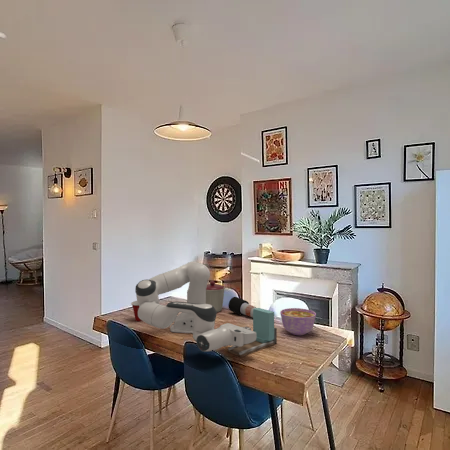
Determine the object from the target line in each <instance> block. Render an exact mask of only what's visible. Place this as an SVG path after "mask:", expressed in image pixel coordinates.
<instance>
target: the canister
mask: <svg viewBox="0 0 450 450" xmlns="http://www.w3.org/2000/svg"><path fill="white" fill-rule="evenodd" d="M225 289H226V286H224V285H222V284H217V283H216V282H215V281H214V280H211V281H210V282H209V283H207V287H206V304H210V305H212V306H213V307H214V308H215V309H216V311H217V313H219V312H221V311H222V309H223V303H224V295H225Z"/></svg>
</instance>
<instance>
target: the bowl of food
mask: <svg viewBox="0 0 450 450" xmlns="http://www.w3.org/2000/svg"><path fill="white" fill-rule="evenodd" d="M279 314H280V319H281V322H282V325H283V327H284V329H285V330H286V331H287V332H288V333H290V334H291V335H293V336H304V335H306V334H308V333H310V332H311V331H312V330H313V328H314V324H315V320H316V317H317V313H316V312H315V311H314V310H312V309H307V308H299V307H292V308H291V307H290V308H284V309H281V310H280V312H279Z"/></svg>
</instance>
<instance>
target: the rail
mask: <svg viewBox="0 0 450 450" xmlns="http://www.w3.org/2000/svg"><path fill="white" fill-rule="evenodd" d="M277 329H278V328H277V327H274V340H271V341H269V342H266V343H261V342H258V341H256V340H255V341H253V342H251V343H248V344H243V346H241V347H239V346H228V347H227V348H228V349H227V352H228V353H229V354H230V353H231V354H233V355H235V356H237V357H239V358H243V357H245V356H247V355H250V354H253V353H256V352H258V351H261V350H264V349H266V348H269V347H272V346H274V345H277V344H278V342H277V341H278V340H277V339H278V338H277V337H278V335H277V334H278V333H277V332H278V331H277Z"/></svg>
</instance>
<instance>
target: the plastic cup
mask: <svg viewBox="0 0 450 450" xmlns="http://www.w3.org/2000/svg"><path fill="white" fill-rule="evenodd" d="M130 304H131V306H132V309H133V315H134V319H135V322H143V321H142V320H141V319H140V318H139V317H138V309H139V304H138V302H137V300H134V301H132V302H131V303H130Z"/></svg>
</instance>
